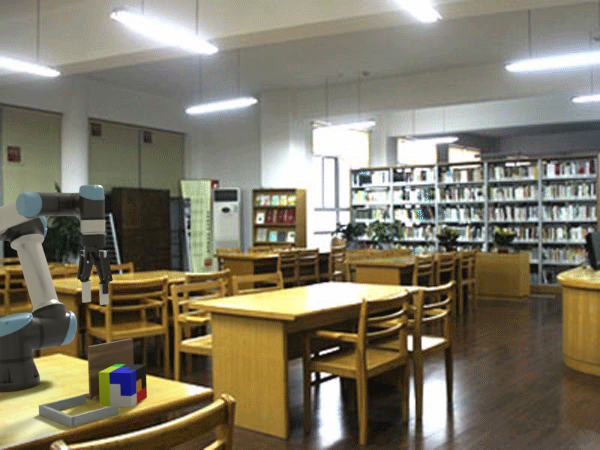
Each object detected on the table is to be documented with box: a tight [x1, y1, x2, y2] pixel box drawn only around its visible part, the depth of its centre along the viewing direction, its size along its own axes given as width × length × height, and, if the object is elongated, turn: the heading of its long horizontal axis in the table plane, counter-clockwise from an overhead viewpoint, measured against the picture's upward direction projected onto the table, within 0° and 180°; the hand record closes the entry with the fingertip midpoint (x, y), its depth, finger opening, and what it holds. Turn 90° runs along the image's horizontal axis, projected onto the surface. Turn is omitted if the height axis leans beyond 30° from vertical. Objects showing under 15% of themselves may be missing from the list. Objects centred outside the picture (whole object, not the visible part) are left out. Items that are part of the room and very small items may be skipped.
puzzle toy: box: [99, 364, 148, 408], centre depth 184 cm, size 10×10×10 cm
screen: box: [85, 337, 135, 402], centre depth 192 cm, size 6×15×16 cm, turn 138°
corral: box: [38, 393, 119, 428], centre depth 173 cm, size 18×14×2 cm
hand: (95, 303), depth 197 cm, fingers open, 10 cm apart
